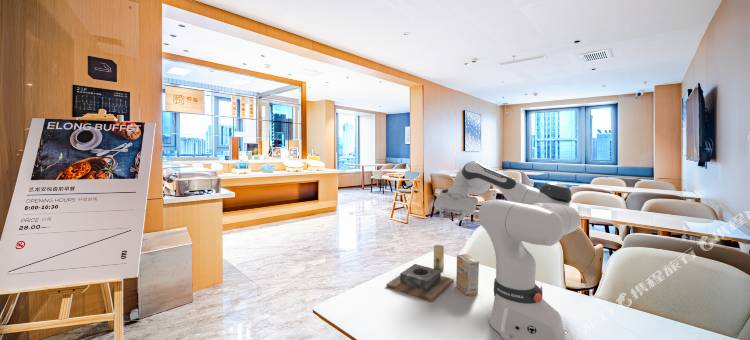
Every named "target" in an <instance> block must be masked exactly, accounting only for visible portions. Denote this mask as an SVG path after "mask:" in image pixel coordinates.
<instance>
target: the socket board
mask: <svg viewBox="0 0 750 340" xmlns="http://www.w3.org/2000/svg"><path fill="white" fill-rule="evenodd" d="M441 273H442V272H441V271H440V270H436V269H434V267H433V268H432V267H428V266H425V265H420V264H417V263H414V264H412V265H411V266H410V267H408V268H406V269H405V270H404V271H402V272H400V274H399V275H398V276H396V277H395V278H394V279H392V280H390V281H389V282H387V283H386V285H385V286H386V288H389V289H392V290H395V291H397V292H400V293H404V294H406V295H410V296H412V297H416V298H417V299H418V298H419V299H422V300H425V301H428V302H431V303H433V302H434V301H435V300H436V299H438V298H439V296H440V295H441V294H442V293H444V292H445V291H446V290H447V289H448V288H449V287H450V286H451V285H452V284H453V283H454V278H451V277H448V276H443V275H442V274H441Z"/></svg>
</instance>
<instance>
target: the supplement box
mask: <svg viewBox="0 0 750 340" xmlns="http://www.w3.org/2000/svg"><path fill="white" fill-rule="evenodd" d="M479 266H480V261H479V260H477V259H475V258H474V257H472V256H470V255H469V254H467V253H465V254H464V253H463V254H457V255H456V279H455V280H456V284H455V285H456V287H457V288H458V289H459V290H460V291H462V292H464V294H465V295H466V296H473V295H474V296H475V295H478V294H479V272H480V271H479V270H480V269H479V268H480V267H479Z"/></svg>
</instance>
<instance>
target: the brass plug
mask: <svg viewBox="0 0 750 340" xmlns="http://www.w3.org/2000/svg"><path fill="white" fill-rule="evenodd" d="M444 252H445V248H444V245H441V244H436V245H434V246H433V269H436V270H440V271H441V273H443V272H444V270H445V269H444V266H445V265H444V256H445V253H444Z"/></svg>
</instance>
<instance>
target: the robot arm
mask: <svg viewBox="0 0 750 340" xmlns="http://www.w3.org/2000/svg"><path fill="white" fill-rule="evenodd" d="M492 186H494V187H495V188H497V189H498V190H499V191H500V192H501V193H502V195H503V196H504V197H505V199H506V200H505V199H489V200H486V201H483V203H482V204H481V205H480V207H479V208H478V213H477V217H478V218H477V219H478V221H479V224H480V226H482V228H483V229H484V230H485V232H486V233H487V234H488V237H489V239H490V241H491V243H492V247H493V250H494V255H495V278H494V279H493V280H494V281H493V296H494V298H493V300H494V301H493V305H492V311H491V312H490V313H491V314H490V316H489V319H488V321H489V325H490V327H492V328H493V329H494V330H495V331H496V332H497V333H498V334H499V335H500V337H501V339H503V340H572V339H573V337H572V334H571V332H570V330H569V328H567V327H566V326H564V324H563V320H562V317H561V314H560V313H559V312H558V310H556V309H555V308H554V307H553V306H551V305H550V304H549V303H548V302H547V301H546V300H545V299H543V286H538V285H537V284H536V270H537V269H536V268H537V267H536V266H537V264H536V259H535V257H534V255H533V254H531V252H530V251H529V250H528V249H527V248H526V247H525V245H524V244H523V242H524V243H527V244H530V245H536V246H545V247H548V246H549V247H553V246H554V245H556V244H557V243H559V242H560V240H562V238H563V236H564V235H565V236H566V235H568V234H569V235H570V233H572V232H574V231H576V230H578V228H579V227H580V225H581V220H582V219H581V215H580V213H579V212H578V211H577V210H576V209H575V208H573V207H571V206H570V203H571V201H572V200H573V199H572V191H571V188H569V186H566V185H565V184H563V183H560V182H556V181H549V182H545V183H543V184H542V185H541V186H540V188H536V187H533V186H530V185H527V184H524V183H522V182H520V181H518V180H516V179H515V178H512V177H510V176H508V175H506V174H504V173H502V172H500V171H497V170H494V169H492V168H488V167H486V166H485V165H483V163H481V162H479V161H476V160H475V161H469V162H467V163H465V165H464V166H463V167H462V168H460V169H459V170H458V171H457V173H456V174H455V177H454V180H453V185H452V186H451V187H449V188H445V189H441V190H439V194H438V195H437V197H436V199H435V200H434V202H433V207H434V209H435V210H436V211H439V215H438V216H439V218H440V219H443V218H444V216H445V215H444V213H443V212H450V213H456V214H460V215H458V216H457V220H458V221H463V218H465V217H466V216H467V215H471V216H472V215H474V214H475V213H476V208H477V207H476V206H477V204H478V202H479V198H477V197H476V196H469V194H472V195H484V194H486V193H487V192H488V191H489V190H491V187H492ZM565 332H567V333H565Z"/></svg>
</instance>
